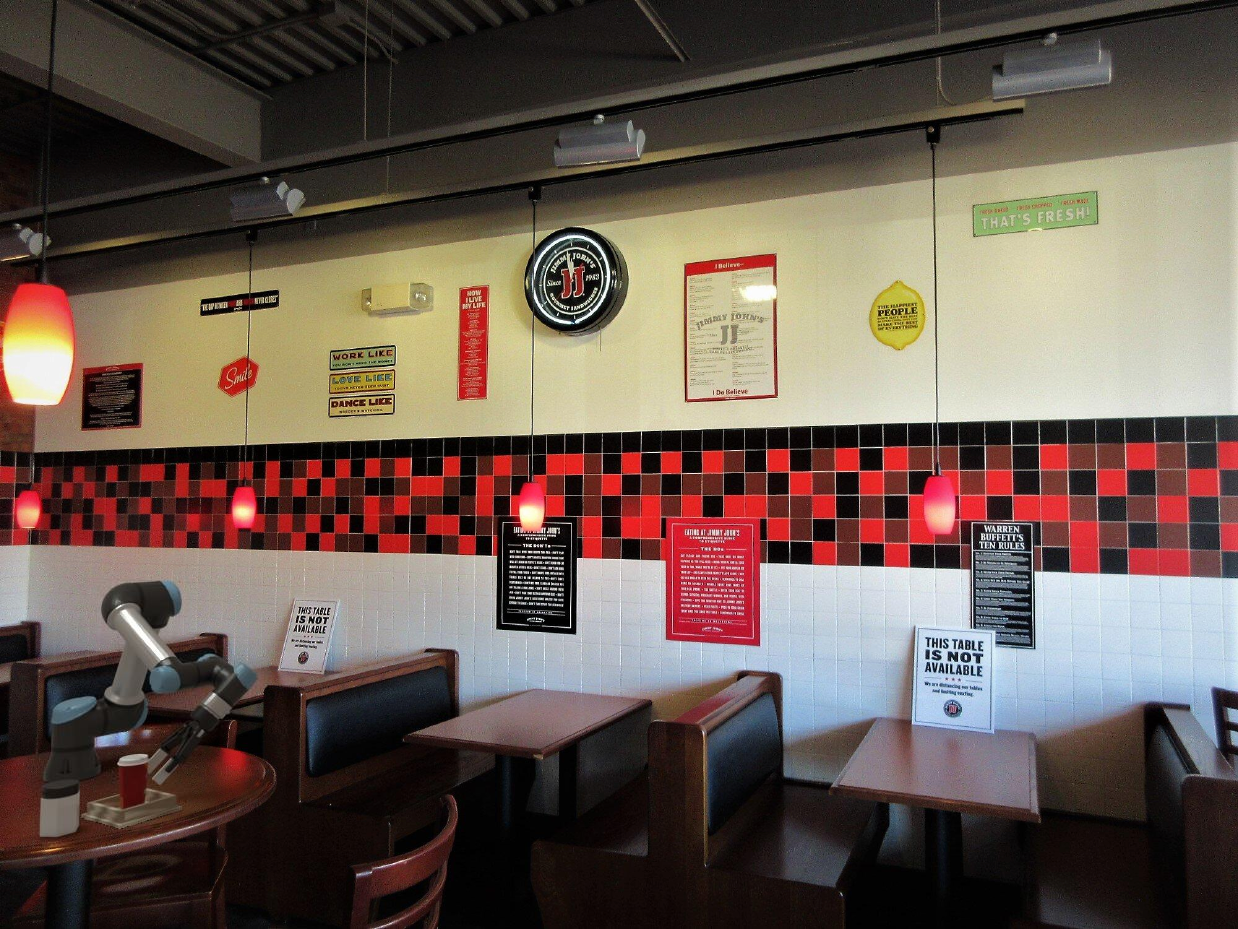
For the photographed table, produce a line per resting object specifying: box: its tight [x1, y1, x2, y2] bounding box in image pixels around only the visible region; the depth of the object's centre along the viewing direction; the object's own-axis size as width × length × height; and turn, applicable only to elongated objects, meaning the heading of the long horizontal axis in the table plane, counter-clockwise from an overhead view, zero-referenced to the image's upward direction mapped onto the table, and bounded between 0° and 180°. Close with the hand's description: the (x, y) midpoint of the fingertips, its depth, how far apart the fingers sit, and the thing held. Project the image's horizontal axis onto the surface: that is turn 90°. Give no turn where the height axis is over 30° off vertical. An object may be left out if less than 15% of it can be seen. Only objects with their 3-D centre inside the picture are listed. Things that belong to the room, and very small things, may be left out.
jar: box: [39, 779, 81, 838], centre depth 222 cm, size 9×8×12 cm
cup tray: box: [80, 787, 183, 830], centre depth 235 cm, size 18×17×4 cm
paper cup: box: [117, 753, 151, 810], centre depth 236 cm, size 8×8×14 cm
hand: (150, 776), depth 238 cm, fingers open, 13 cm apart
